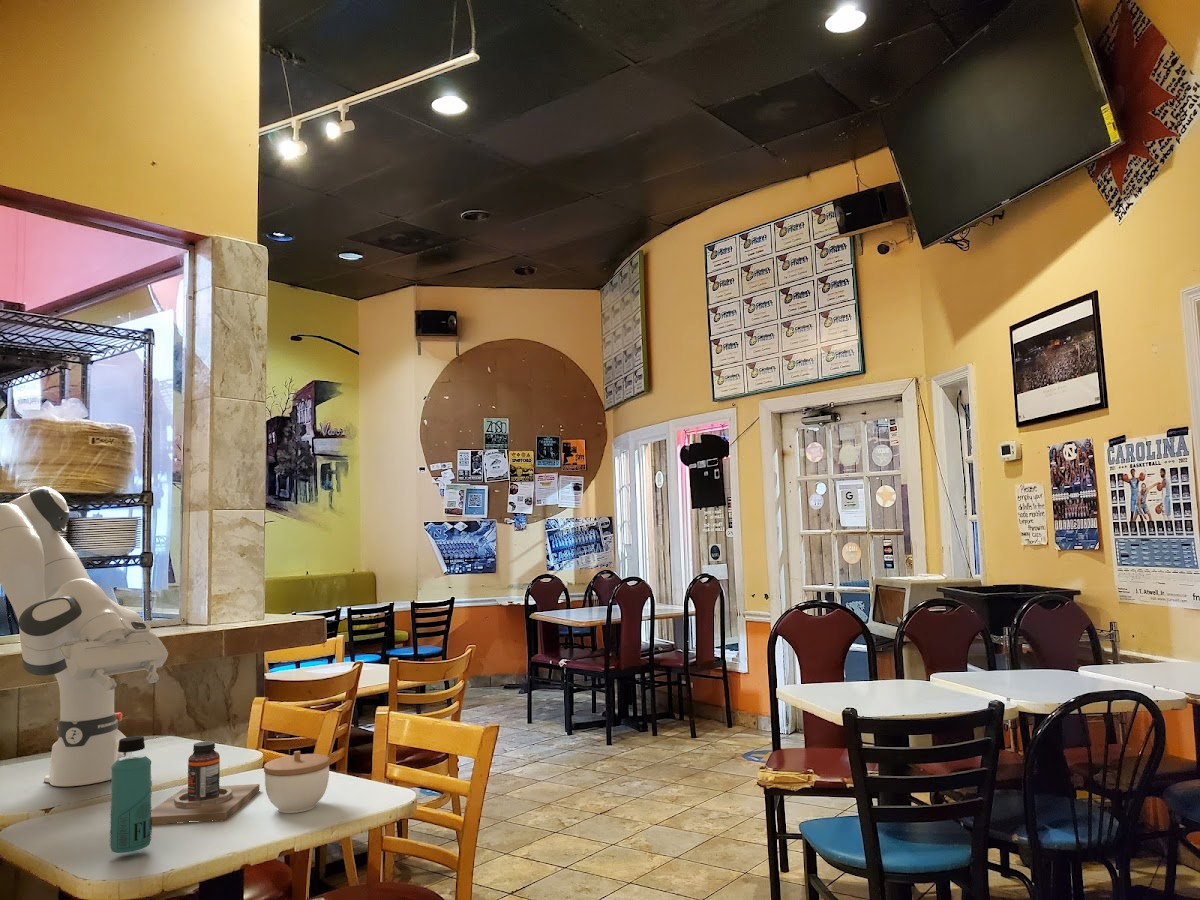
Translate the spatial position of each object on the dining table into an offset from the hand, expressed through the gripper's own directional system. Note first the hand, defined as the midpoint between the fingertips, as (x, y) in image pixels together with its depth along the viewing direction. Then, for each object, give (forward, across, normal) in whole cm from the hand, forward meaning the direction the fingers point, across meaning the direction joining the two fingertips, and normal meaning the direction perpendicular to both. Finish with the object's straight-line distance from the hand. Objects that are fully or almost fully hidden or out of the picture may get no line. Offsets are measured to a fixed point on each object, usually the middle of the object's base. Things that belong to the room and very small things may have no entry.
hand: (133, 684), depth 184 cm
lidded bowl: (+42, +12, -6) cm, 45 cm away
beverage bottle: (+38, -19, -1) cm, 42 cm away
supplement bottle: (+28, +5, +6) cm, 29 cm away
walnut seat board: (+28, +5, +7) cm, 30 cm away
